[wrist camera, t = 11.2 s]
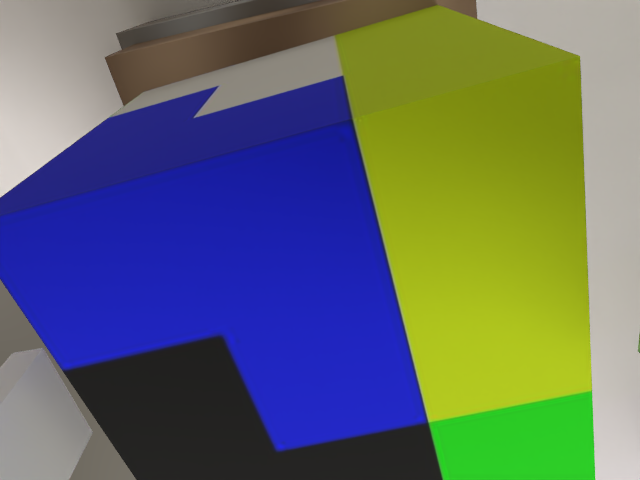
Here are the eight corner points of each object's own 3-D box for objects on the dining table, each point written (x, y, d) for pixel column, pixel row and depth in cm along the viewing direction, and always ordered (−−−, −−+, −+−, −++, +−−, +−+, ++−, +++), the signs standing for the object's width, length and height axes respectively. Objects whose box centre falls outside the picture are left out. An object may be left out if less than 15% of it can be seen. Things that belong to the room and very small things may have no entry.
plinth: (440, -48, 22) (489, -52, 15) (465, 223, 28) (507, 299, 21) (147, 22, 23) (83, 45, 17) (232, 267, 29) (208, 350, 23)
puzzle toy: (143, 91, 17) (-36, 225, 9) (437, 4, 16) (579, 56, 7) (243, 321, 22) (192, 562, 13) (478, 267, 21) (595, 493, 12)
